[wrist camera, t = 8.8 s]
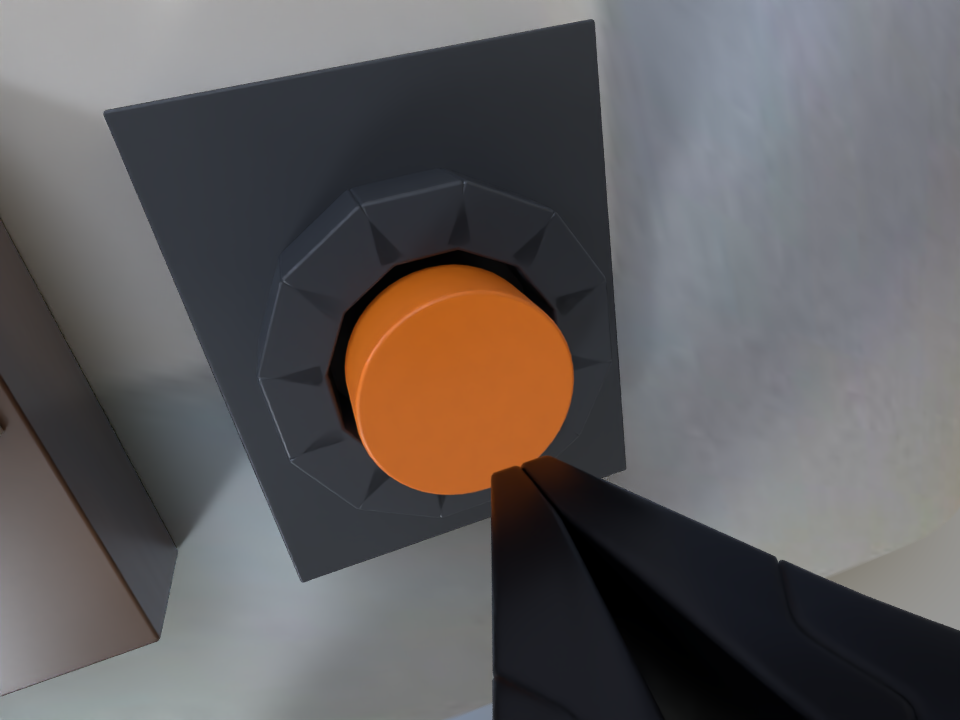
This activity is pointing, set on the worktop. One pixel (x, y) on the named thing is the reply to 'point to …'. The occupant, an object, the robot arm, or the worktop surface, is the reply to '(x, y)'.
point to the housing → (379, 252)
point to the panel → (66, 507)
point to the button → (456, 379)
